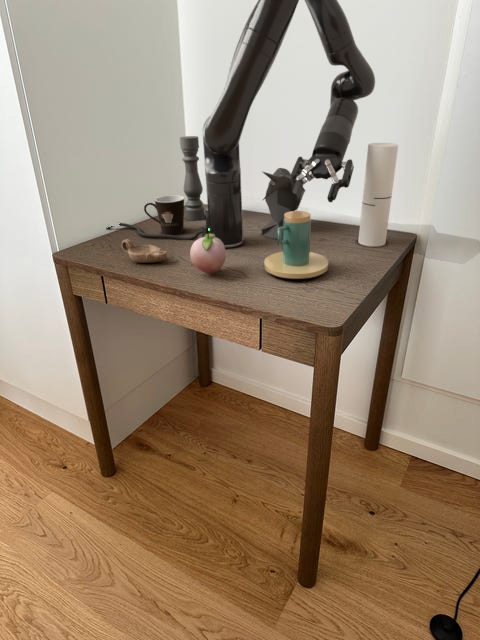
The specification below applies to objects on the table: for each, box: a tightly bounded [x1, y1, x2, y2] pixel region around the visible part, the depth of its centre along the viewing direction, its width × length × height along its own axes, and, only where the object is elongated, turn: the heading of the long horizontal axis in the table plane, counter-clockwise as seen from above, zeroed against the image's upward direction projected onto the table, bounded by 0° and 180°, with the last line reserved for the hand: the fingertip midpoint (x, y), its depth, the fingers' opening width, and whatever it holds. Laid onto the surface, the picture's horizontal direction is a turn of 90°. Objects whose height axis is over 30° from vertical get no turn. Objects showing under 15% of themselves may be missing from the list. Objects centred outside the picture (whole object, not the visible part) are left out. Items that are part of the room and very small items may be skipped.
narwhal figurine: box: [261, 167, 306, 241], centre depth 133 cm, size 14×15×18 cm
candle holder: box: [179, 135, 206, 222], centre depth 146 cm, size 6×6×25 cm
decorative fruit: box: [189, 233, 227, 275], centre depth 106 cm, size 9×8×10 cm
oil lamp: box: [120, 238, 168, 264], centre depth 117 cm, size 13×8×5 cm, turn 61°
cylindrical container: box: [357, 142, 399, 248], centre depth 119 cm, size 7×7×25 cm
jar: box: [263, 210, 329, 279], centre depth 105 cm, size 15×15×12 cm
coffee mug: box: [143, 194, 185, 236], centre depth 137 cm, size 12×9×10 cm
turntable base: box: [273, 275, 320, 282], centre depth 108 cm, size 12×12×1 cm
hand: (312, 198), depth 108 cm, fingers open, 8 cm apart
